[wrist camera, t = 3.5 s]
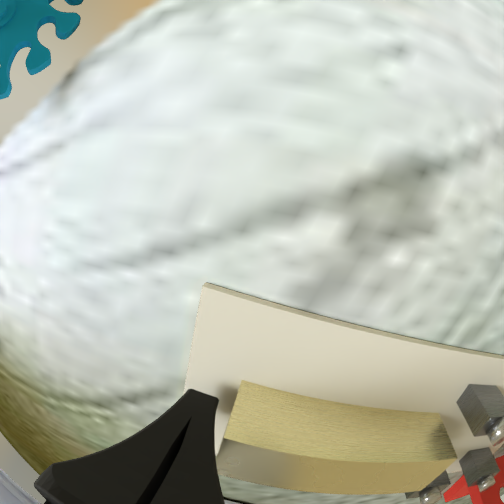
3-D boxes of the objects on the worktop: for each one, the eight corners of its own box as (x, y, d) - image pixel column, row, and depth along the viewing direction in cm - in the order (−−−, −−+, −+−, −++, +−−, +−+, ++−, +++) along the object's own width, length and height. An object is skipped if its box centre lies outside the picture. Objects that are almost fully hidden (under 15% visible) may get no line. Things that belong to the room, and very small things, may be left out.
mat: (478, 463, 11) (480, 467, 11) (179, 436, 13) (176, 441, 13) (556, 363, 8) (559, 366, 8) (206, 282, 10) (202, 286, 10)
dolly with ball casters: (479, 457, 10) (491, 488, 7) (399, 466, 11) (408, 509, 8) (536, 386, 9) (559, 415, 5) (469, 383, 9) (497, 429, 6)
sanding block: (409, 446, 11) (420, 490, 8) (228, 419, 11) (211, 472, 8) (438, 412, 10) (457, 458, 7) (241, 379, 11) (223, 437, 8)
